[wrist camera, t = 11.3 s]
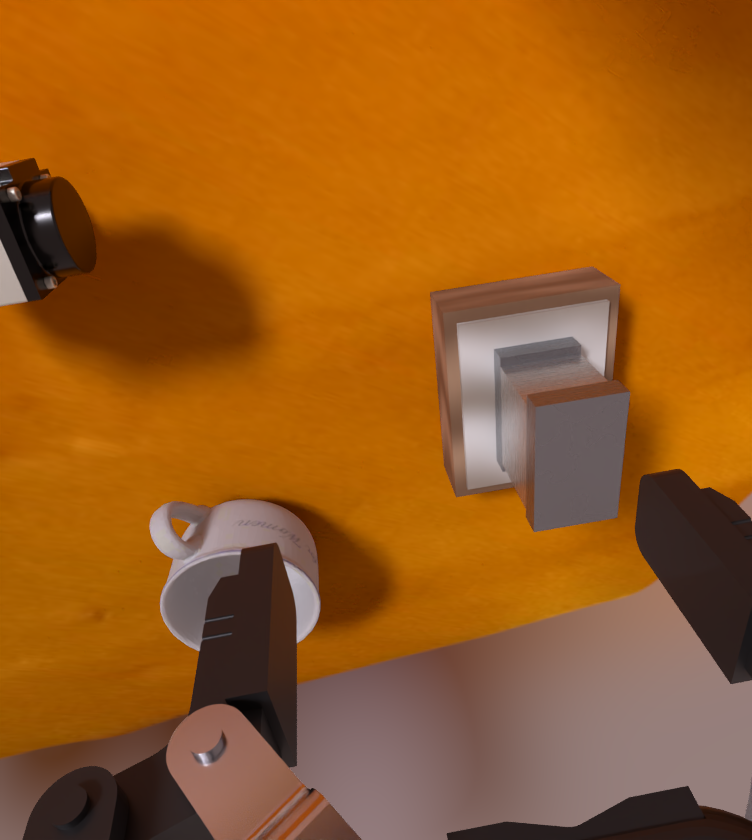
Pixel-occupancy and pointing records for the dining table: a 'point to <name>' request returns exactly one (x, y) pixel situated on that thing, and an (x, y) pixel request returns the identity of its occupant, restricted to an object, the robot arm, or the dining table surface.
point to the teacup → (229, 558)
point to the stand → (503, 327)
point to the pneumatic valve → (40, 232)
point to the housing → (559, 432)
